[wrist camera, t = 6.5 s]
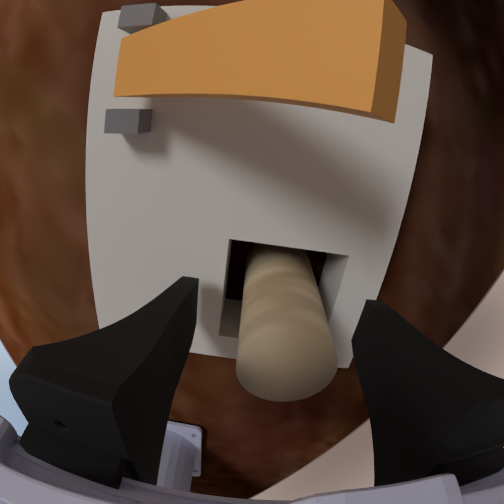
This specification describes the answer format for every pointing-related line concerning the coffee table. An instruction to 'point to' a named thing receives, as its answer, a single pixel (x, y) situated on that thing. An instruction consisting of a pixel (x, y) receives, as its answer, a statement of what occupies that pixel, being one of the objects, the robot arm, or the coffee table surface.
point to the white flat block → (239, 190)
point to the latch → (274, 55)
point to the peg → (283, 327)
